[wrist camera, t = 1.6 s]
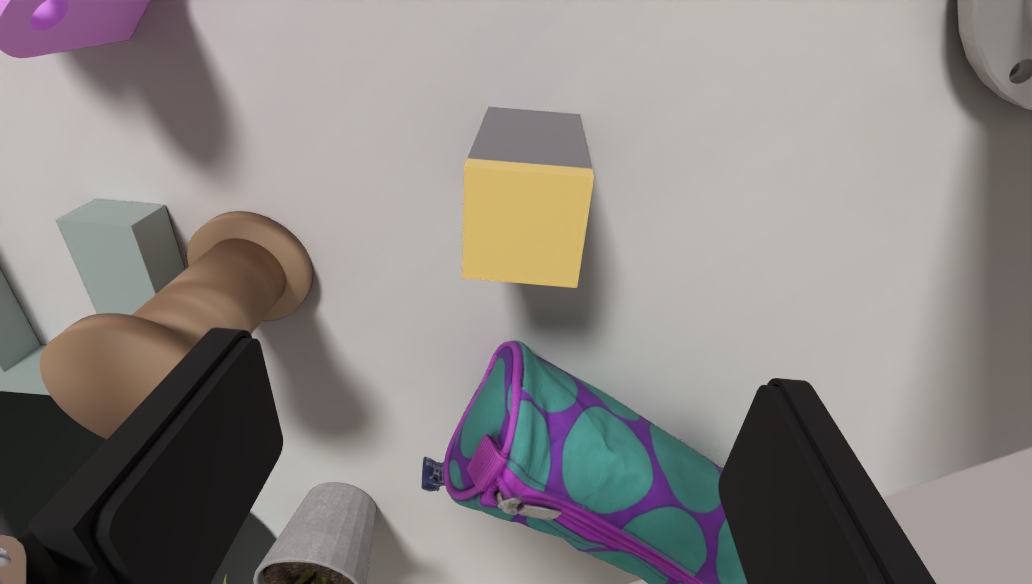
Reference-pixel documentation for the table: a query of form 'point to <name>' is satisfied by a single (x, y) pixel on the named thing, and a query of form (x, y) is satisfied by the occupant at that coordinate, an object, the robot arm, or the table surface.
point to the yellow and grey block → (526, 198)
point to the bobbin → (177, 318)
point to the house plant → (323, 540)
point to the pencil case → (587, 474)
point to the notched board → (95, 276)
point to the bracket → (65, 24)
